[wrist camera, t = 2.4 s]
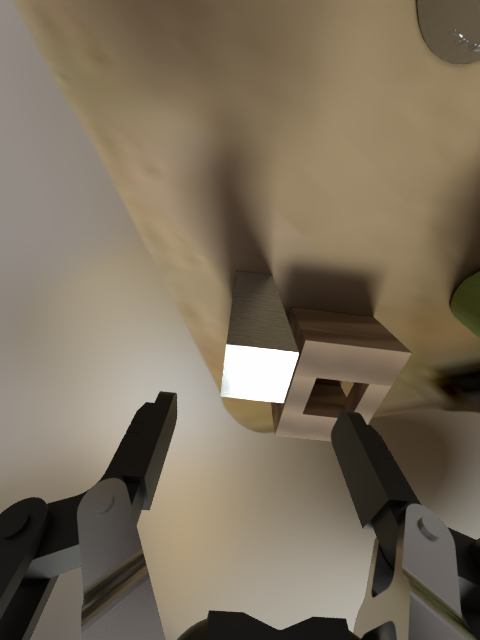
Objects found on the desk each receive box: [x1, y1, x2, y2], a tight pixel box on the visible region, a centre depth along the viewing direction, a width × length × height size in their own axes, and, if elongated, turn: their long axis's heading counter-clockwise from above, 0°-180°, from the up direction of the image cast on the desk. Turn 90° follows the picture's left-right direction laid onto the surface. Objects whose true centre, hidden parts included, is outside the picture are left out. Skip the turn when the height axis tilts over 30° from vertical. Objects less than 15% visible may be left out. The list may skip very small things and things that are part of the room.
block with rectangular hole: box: [271, 307, 412, 441], centre depth 27 cm, size 14×10×7 cm
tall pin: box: [221, 271, 299, 403], centre depth 19 cm, size 4×4×14 cm
